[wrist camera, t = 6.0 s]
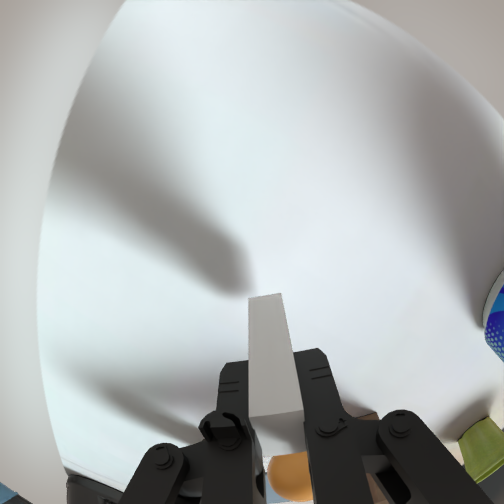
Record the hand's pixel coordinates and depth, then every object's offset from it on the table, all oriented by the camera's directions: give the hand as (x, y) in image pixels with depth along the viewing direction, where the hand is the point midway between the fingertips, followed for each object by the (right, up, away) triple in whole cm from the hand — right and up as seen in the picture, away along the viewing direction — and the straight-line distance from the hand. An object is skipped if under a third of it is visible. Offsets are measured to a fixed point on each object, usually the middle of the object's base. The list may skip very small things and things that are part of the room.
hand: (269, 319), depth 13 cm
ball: (+3, -15, +5) cm, 16 cm away
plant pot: (+32, -23, +12) cm, 41 cm away
